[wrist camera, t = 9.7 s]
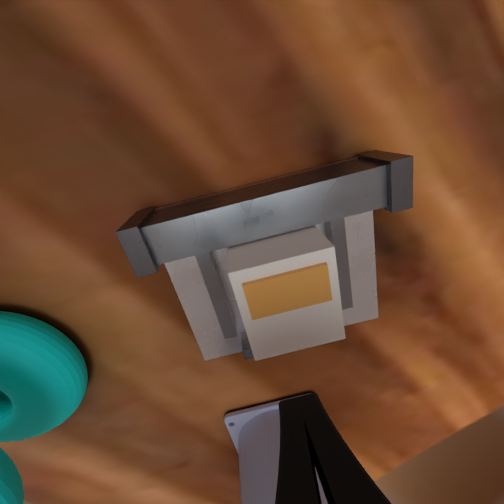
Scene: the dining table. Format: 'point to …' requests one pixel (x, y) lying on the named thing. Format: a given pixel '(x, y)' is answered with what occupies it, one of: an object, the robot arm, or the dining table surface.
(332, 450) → the robot arm
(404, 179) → the rail
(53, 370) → the donuts
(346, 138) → the dining table surface
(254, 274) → the block
